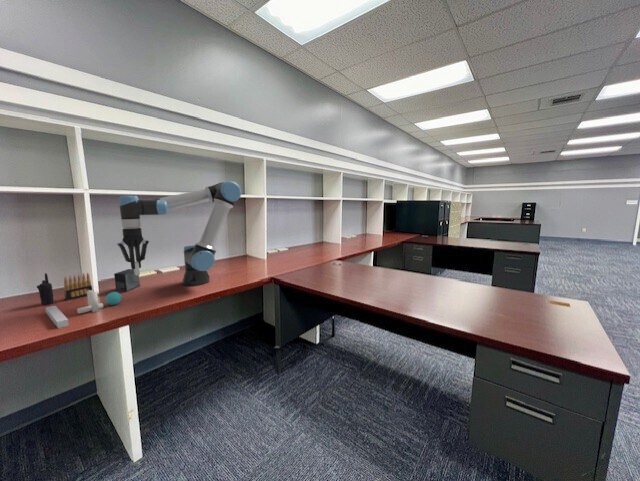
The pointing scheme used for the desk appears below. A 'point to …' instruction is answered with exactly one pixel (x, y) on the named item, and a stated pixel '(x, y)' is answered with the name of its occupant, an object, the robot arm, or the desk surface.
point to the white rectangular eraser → (57, 316)
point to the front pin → (88, 308)
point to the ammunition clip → (77, 287)
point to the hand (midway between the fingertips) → (137, 274)
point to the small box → (126, 280)
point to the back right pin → (89, 296)
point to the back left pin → (94, 302)
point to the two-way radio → (46, 291)
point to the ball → (113, 298)
